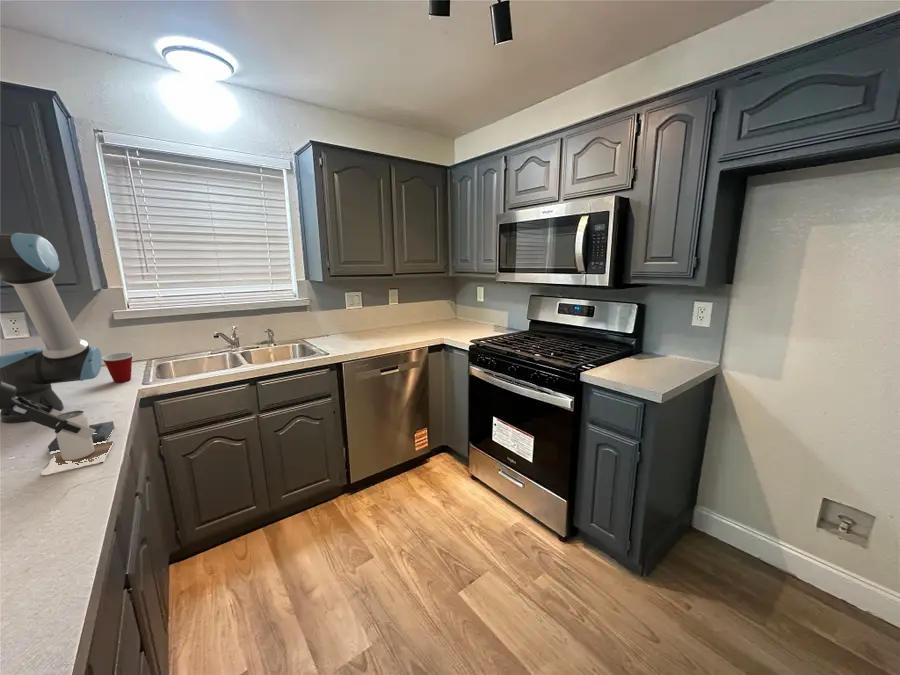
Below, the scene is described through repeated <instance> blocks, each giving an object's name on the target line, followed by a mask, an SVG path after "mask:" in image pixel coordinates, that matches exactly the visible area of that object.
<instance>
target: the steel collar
mask: <svg viewBox="0 0 900 675" xmlns="http://www.w3.org/2000/svg"><path fill="white" fill-rule="evenodd" d="M89 428H92V429H95V430H96V431H95V432H94V433H97V434H94V435H92V441H93V443H97V442H102V441H106V440H107V438H108V437H109V435H110V434H111V432H112V430H113V429H114V430H115V424H114V421H113V420H111V421H107V422H105V421H104V422H101V423H94V424H89ZM114 430H113V431H114ZM112 433H113V432H112ZM111 435H112V434H111ZM111 435H110V436H111ZM109 438H110V437H109ZM47 448H48V451H49V452H51V451H56V450H60V449H59V445H58V441H57V437H56V436H55V438H54V439H53V440H52V441H51V442H50V444H48V446H47Z"/></svg>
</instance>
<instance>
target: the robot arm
mask: <svg viewBox="0 0 900 675" xmlns="http://www.w3.org/2000/svg"><path fill="white" fill-rule="evenodd" d="M59 268H60V260H59V255H58V253H57V250H56V249H55V247H54V245H52V243H51V242H50V241H48V239H46V238H45V237H43V236H42V235H39V234H35V233H23V232H0V278H1V280H2V282H3V283H5V284H8V285H11V286H12V287H13V288H14V290H15V292H16V294H17V295H18V297H19V299H20V301H21V303H22V304H23V307H24V309H25V310H26V313H27V314H28V316H29V318H30V319H31V322H32V324H33V325H34V328H35V330H36V331H37V333H38V335H39V337H40V338H41V341H42V342H43V344H44V346H45V347H44V348H42V347H40V346H36V347H30V348H24V349H18V350H14V351H11V352H6V353H3V354H0V421H1V423H4V422H5V423H6V424H11V423H12V424H15V423H14V422H16V423H22V421H24V422H29V421H31V422H33V423H37V424H39V425H42V426H44V427H47V428H49V429H53V430H54V433H55V434H56V433H59V432H60V431H63V432H66V433H69V434H72V435H75V436H78V437H81V438H84V439H87V440H88V439H89V438H90V437H91V436H92V435H93V433H94V432H95V431H96V430H95V429H92V428H89V427H86V426H83V425H80V424H78V423H75V422H72V421H69V420H64V419H61V418H59V417H57V416H58V415H60V414H63V413H64V412H62V411H63V410H64V408H65V407H64V403H63V401H62V400H61V399H60V397H59V396H58V394H57V393H56V392H55V391H54V390H53V388H52V385H53V384H59V383H60V384H62V383H68V382H69V383H70V382H79V381H80V382H82V381H86V380H92V379H95V378H96V377H98V375H99V374H100V372H101V369H102V368H101V367H102V361H103V360H102V359H101V358H102V354H101V350H100V348H98V347H96V346H92V347H90V346H89V344H88V341H87V340H85V339H82V338H80V337H79V336H78V333H77V331H76V328H75V327H74V324H73V322H72V320H71V318H70V316H69V314H68V312H67V310H66V308H65V305H64V303H63V301H62V298H61V297H60V294H59V291H58V290H57V288H56V285H55V284H54V281H53V279H54V277H55V276H56V272H57V271H58V270H59ZM59 422H60V423H59ZM58 423H59V424H58ZM57 424H58V425H57ZM56 425H57V426H56Z"/></svg>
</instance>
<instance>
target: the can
mask: <svg viewBox="0 0 900 675" xmlns="http://www.w3.org/2000/svg"><path fill="white" fill-rule="evenodd" d="M57 417H59V418H61V419H64V420H69V421H72V422H75V423H78V424H80V425H83V426H86V427H89V425H90V424H89V421H88V420H89V419H88V416H87V415H86V414H85V413H84V411H83V410H72V411H71V410H70V411H67V412H63V414H60V415H58V416H57ZM59 423H60V422H59ZM59 423H58V424H59ZM58 424H57V425H58ZM57 425H56V426H57ZM56 437H57V441H58V445H59V449H60V452H61V456H62V459H63V460H65V461H74V460H78V459H82V458H85V457H87V456H89V455H91V454H92V453H93V452H94V445H93V441H92V436H91V437H90V438H89V439H88V440H87V439H84V438H81V437H78V436H75V435H72V434H69V433H66V432H63V431H60V432H59V433H55V438H56Z"/></svg>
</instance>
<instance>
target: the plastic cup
mask: <svg viewBox="0 0 900 675" xmlns="http://www.w3.org/2000/svg"><path fill="white" fill-rule="evenodd" d="M133 357H134V353H133V352H115V353H110V354H107V355H106V354H105V355H104V356H101V359H102V361H103V362H104V365H105V366H106V368H107V370H108V372H109V375H110V376H111V379H112V381H113V382H114V383H115V384H121V383H126V382H129V381H131V380H132V370H133V369H132V364H133V362H132V361H133Z"/></svg>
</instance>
